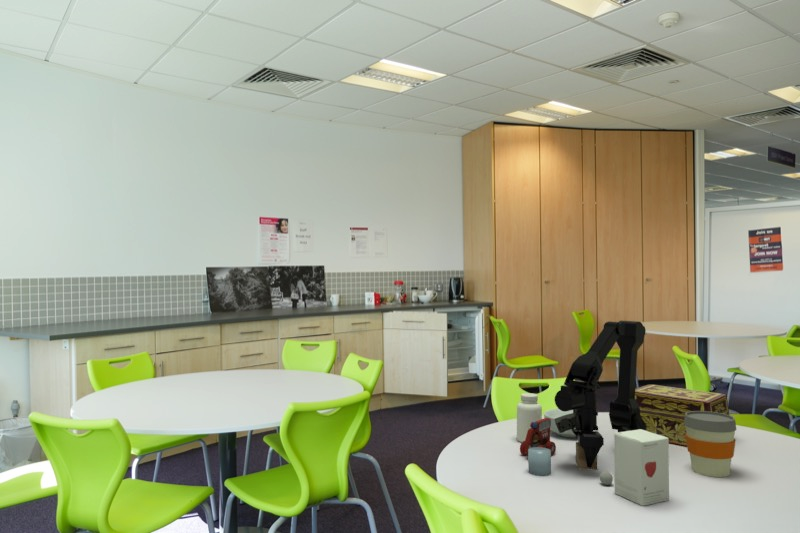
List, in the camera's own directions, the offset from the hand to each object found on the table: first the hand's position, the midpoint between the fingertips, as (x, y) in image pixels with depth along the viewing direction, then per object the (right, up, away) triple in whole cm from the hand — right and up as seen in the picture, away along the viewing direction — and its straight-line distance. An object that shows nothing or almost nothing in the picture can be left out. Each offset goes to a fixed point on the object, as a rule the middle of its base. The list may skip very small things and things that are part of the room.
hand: (586, 461), depth 158 cm
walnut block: (0, -1, 0) cm, 1 cm away
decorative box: (+39, -2, +28) cm, 48 cm away
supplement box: (+6, -1, -22) cm, 23 cm away
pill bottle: (-10, -2, +25) cm, 27 cm away
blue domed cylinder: (-14, -1, -5) cm, 15 cm away
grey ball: (0, +1, -14) cm, 14 cm away
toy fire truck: (-11, -2, +10) cm, 15 cm away
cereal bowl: (+5, -2, +32) cm, 33 cm away
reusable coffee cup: (+32, -1, -5) cm, 33 cm away
